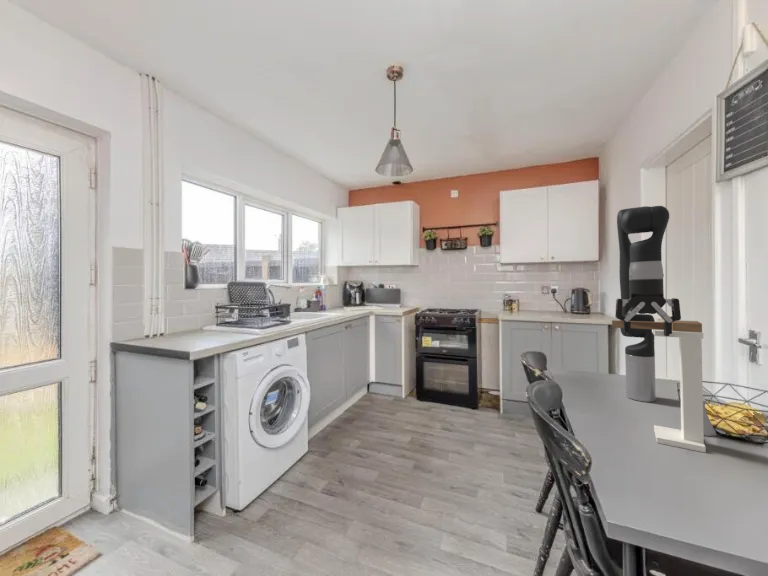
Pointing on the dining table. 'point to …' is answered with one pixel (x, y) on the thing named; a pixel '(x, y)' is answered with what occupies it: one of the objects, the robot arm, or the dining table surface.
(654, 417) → the dining table surface
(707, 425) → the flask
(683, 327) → the tan angular block
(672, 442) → the white pedestal stand
